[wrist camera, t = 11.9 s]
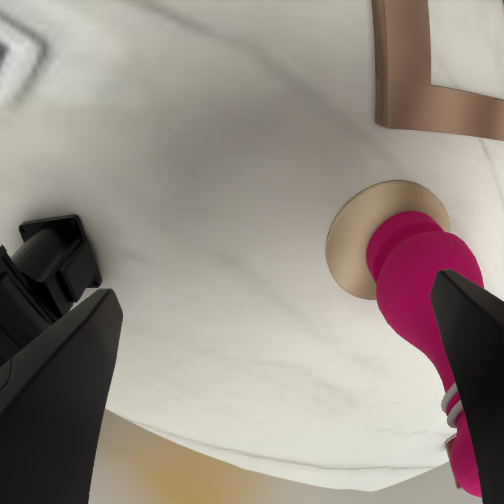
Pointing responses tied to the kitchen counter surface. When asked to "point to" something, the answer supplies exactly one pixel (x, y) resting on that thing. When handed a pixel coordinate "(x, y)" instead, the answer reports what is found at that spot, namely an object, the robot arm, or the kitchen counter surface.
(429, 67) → the holder ring
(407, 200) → the cork trivet
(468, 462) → the pepper mill
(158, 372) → the kitchen counter surface
